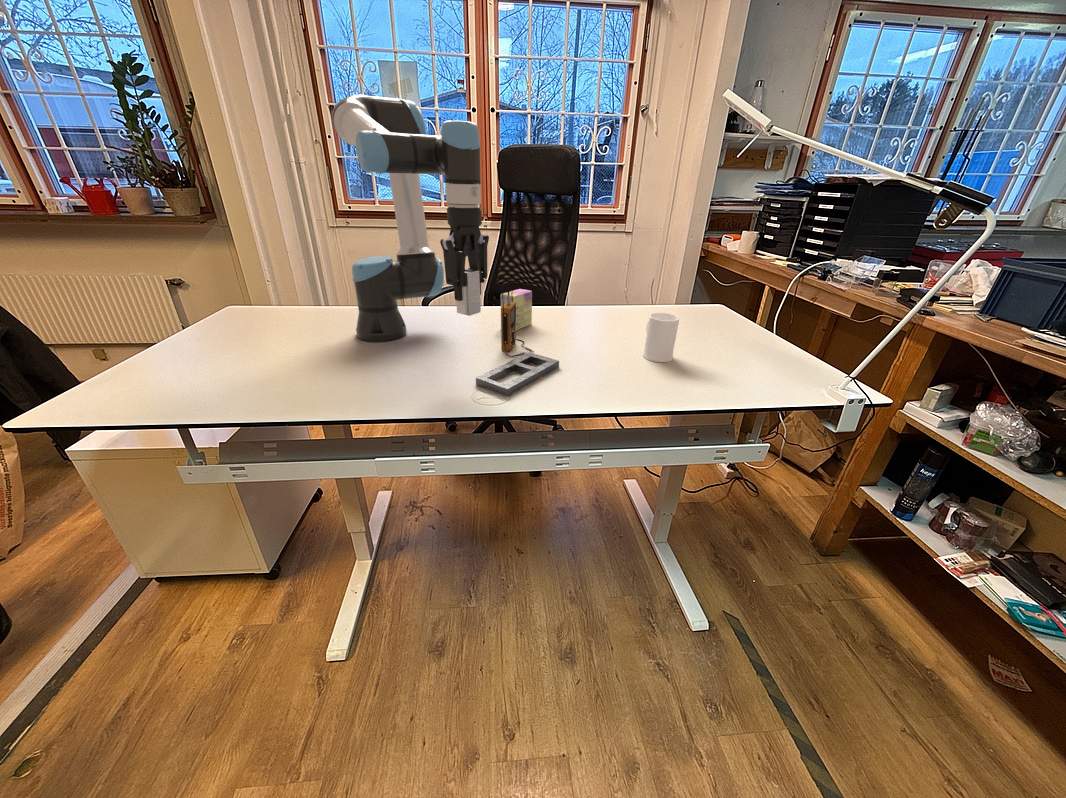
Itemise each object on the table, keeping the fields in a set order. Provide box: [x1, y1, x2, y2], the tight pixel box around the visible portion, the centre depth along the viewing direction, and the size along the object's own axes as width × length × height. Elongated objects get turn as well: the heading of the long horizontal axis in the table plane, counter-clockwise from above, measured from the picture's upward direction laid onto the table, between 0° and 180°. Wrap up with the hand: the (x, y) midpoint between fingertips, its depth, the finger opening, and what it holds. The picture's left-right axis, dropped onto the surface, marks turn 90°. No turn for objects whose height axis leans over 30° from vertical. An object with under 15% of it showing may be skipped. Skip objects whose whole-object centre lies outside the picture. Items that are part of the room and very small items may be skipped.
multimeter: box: [500, 278, 535, 357], centre depth 122 cm, size 15×10×20 cm
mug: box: [642, 312, 680, 363], centre depth 121 cm, size 12×8×12 cm
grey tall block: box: [457, 267, 481, 317], centre depth 100 cm, size 4×4×10 cm
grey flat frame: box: [475, 351, 560, 397], centre depth 108 cm, size 10×22×2 cm, turn 144°
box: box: [500, 288, 533, 331], centre depth 142 cm, size 10×6×12 cm, turn 144°
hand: (469, 311), depth 103 cm, fingers closed on grey tall block, 4 cm apart
